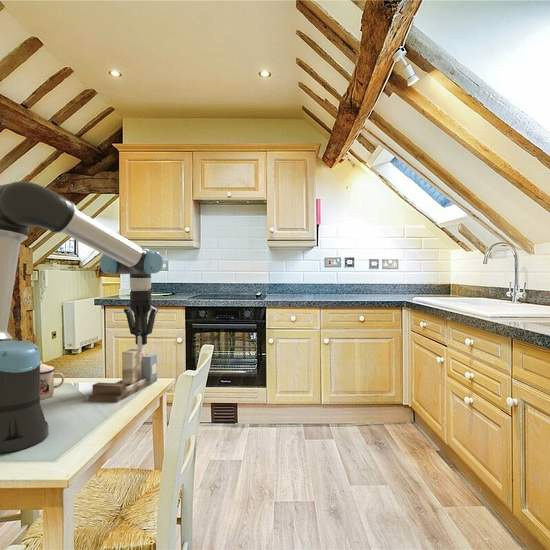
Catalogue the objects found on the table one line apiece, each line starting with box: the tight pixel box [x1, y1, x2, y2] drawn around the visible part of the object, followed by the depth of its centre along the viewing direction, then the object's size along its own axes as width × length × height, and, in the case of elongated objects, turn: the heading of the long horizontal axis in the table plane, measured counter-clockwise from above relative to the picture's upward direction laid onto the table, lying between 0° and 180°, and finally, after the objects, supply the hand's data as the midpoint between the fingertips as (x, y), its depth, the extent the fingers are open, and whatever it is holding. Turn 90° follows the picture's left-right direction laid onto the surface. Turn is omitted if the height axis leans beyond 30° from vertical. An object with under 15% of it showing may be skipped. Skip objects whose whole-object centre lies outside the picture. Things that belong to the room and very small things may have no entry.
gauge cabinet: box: [142, 353, 158, 385], centre depth 150 cm, size 5×10×10 cm, turn 79°
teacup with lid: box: [40, 360, 65, 401], centre depth 133 cm, size 12×9×12 cm
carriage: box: [121, 348, 142, 384], centre depth 143 cm, size 6×4×11 cm, turn 169°
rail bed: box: [88, 378, 158, 403], centre depth 139 cm, size 26×10×4 cm, turn 169°
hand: (141, 353), depth 150 cm, fingers closed
